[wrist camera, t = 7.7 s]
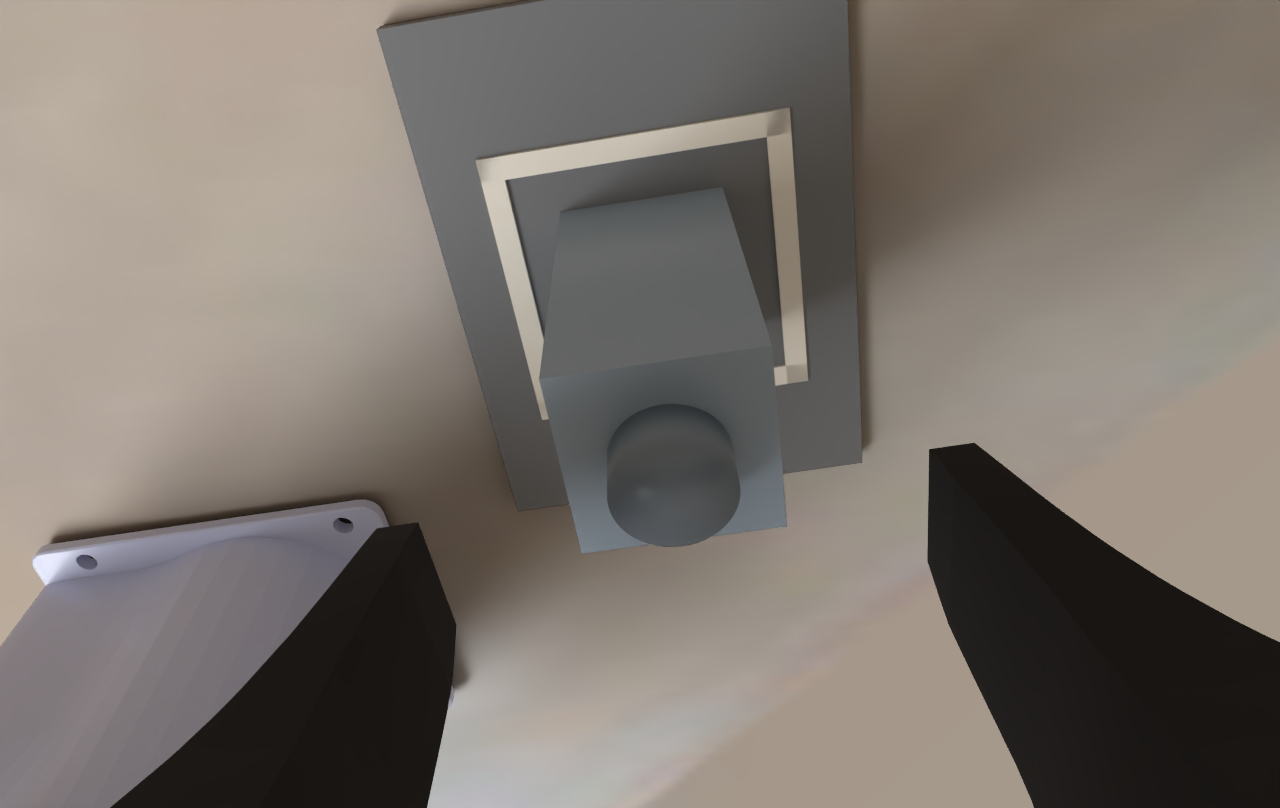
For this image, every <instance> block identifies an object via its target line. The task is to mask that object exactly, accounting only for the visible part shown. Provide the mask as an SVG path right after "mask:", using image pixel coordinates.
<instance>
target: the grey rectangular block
mask: <svg viewBox="0 0 1280 808" xmlns="http://www.w3.org/2000/svg"><path fill="white" fill-rule="evenodd" d="M539 382H540V386H541V390H542V394H543V398H544V402H545V406H546V410H547V414H548V418H549V422H550V426H551V431H552V435H553V439H554V443H555V447H556V451H557V455H558V459H559V463H560V467H561V471H562V475H563V480H564V484H565V488H566V492H567V496H568V500H569V504H570V508H571V512H572V516H573V520H574V525H575V529H576V533H577V537H578V541H579V545H580V549H581V553H582V554H583V553H591V552H598V551H606V550H613V549H621V548H628V547H636V546H643V545H656V546H663V547H679V546H686V545H691V544H694V543H698V542H701V541H703V540H705V539H707V538H709V537H711V536H718V535H726V534H733V533H741V532H748V531H756V530H763V529H771V528H778V527H786V526H787V520H786V508H785V496H784V484H783V472H782V460H781V448H780V436H779V424H778V411H777V399H776V387H775V375H774V363H773V351H772V344H771V341H770V337H769V334H768V331H767V328H766V325H765V321H764V318H763V315H762V312H761V309H760V305H759V302H758V299H757V296H756V293H755V289H754V286H753V283H752V280H751V277H750V273H749V270H748V267H747V264H746V261H745V257H744V254H743V251H742V248H741V245H740V242H739V238H738V235H737V232H736V229H735V226H734V222H733V219H732V216H731V213H730V210H729V206H728V203H727V200H726V197H725V194H724V190H723V187H719V188H713V189H706V190H700V191H693V192H687V193H680V194H674V195H668V196H661V197H655V198H648V199H642V200H635V201H629V202H622V203H616V204H609V205H603V206H597V207H590V208H584V209H577V210H571V211H564V212H560V218H559V225H558V233H557V241H556V249H555V257H554V265H553V273H552V280H551V288H550V296H549V304H548V312H547V320H546V328H545V335H544V343H543V351H542V359H541V367H540V375H539Z"/></svg>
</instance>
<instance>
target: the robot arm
mask: <svg viewBox="0 0 1280 808" xmlns="http://www.w3.org/2000/svg"><path fill="white" fill-rule="evenodd" d="M338 518H346V519H348V520H350V521H351V522H352V523H351V524H348V523H343V522H341V521H340V520H339V519H338ZM87 555H89V556H91V557H93V558H94V559H92V558H89V557H88V556H87ZM928 564H929V567H930V570H931V573H932V576H933V579H934V582H935V585H936V588H937V592H938V595H939V597H940V601H941V603H942V606H943V609H944V612H945V615H946V618H947V621H948V624H949V626H950V628H951V630H952V633H953V635H954V637H955V639H956V641H957V643H958V645H959V647H960V650H961V652H962V654H963V656H964V658H965V660H966V662H967V664H968V666H969V668H970V671H971V673H972V675H973V677H974V679H975V681H976V683H977V685H978V687H979V689H980V691H981V693H982V695H983V697H984V699H985V702H986V703H987V706H988V708H989V710H990V712H991V714H992V716H993V718H994V720H995V722H996V724H997V726H998V728H999V730H1000V732H1001V734H1002V737H1003V738H1004V741H1005V743H1006V745H1007V747H1008V748H1009V751H1010V753H1011V755H1012V757H1013V759H1014V761H1015V763H1016V765H1017V768H1018V770H1019V772H1020V775H1021V777H1022V779H1023V782H1024V784H1025V786H1026V788H1027V791H1028V793H1029V795H1030V798H1031V800H1032V803H1033V806H1034V808H1280V642H1278V641H1276V640H1274V639H1271V638H1269V637H1267V636H1265V635H1263V634H1261V633H1259V632H1257V631H1255V630H1253V629H1251V628H1249V627H1247V626H1245V625H1243V624H1241V623H1239V622H1237V621H1235V620H1233V619H1232V618H1230V617H1228V616H1226V615H1224V614H1222V613H1220V612H1219V611H1217V610H1215V609H1213V608H1211V607H1210V606H1208V605H1206V604H1204V603H1203V602H1200V601H1199V600H1197V599H1195V598H1194V597H1192V596H1190V595H1188V594H1186V593H1184V592H1182V591H1181V590H1179V589H1177V588H1176V587H1174V586H1173V585H1170V584H1169V583H1167V582H1166V581H1164V580H1162V579H1161V578H1159V577H1157V576H1156V575H1154V574H1153V573H1151V572H1150V571H1148V570H1147V569H1145V568H1143V567H1142V566H1140V565H1139V564H1137V563H1136V562H1134V561H1132V560H1131V559H1130V558H1128V557H1126V556H1125V555H1123V554H1122V553H1120V552H1119V551H1117V550H1116V549H1114V548H1113V547H1111V546H1110V545H1108V544H1107V543H1105V542H1104V541H1102V540H1101V539H1100V538H1098V537H1097V536H1095V535H1094V534H1092V533H1091V532H1090V531H1088V530H1087V529H1085V528H1084V527H1083V526H1081V525H1080V524H1079V523H1077V522H1076V521H1075V520H1073V519H1072V518H1070V517H1069V516H1068V515H1066V514H1065V513H1064V512H1062V511H1061V510H1060V509H1058V508H1057V507H1056V506H1054V505H1053V504H1052V503H1050V502H1049V501H1048V500H1046V499H1045V498H1044V497H1043V496H1041V495H1040V494H1039V493H1037V492H1036V491H1035V490H1034V489H1032V488H1031V487H1030V486H1028V485H1027V484H1026V483H1025V482H1023V481H1022V480H1021V479H1020V478H1018V477H1017V476H1016V475H1015V474H1013V473H1012V472H1011V471H1010V470H1008V469H1007V468H1006V467H1004V466H1003V465H1002V464H1001V463H999V462H998V461H997V460H996V459H994V458H993V457H992V456H991V455H989V454H988V453H987V452H985V451H984V450H983V449H982V448H980V447H979V446H978V445H976V444H975V443H970V444H963V445H956V446H949V447H942V448H935V449H929V502H928ZM32 565H33V567H34V569H35V571H36V572H37V573H38V575H39V576H40V578H41V579H42V581H43V582H44V584H45V585H46V586H45V587H44V588H43V590H42V591H41V592H40V594H39V595H38V597H37V598H36V599H35V601H34V602H33V603H32V605H31V606H30V607H29V609H28V610H27V611H26V613H25V614H24V615H23V617H22V618H21V619H20V621H19V622H18V623H17V625H16V626H15V628H14V629H13V630H12V632H11V633H10V634H9V636H8V637H7V638H6V640H5V641H4V642H3V644H2V645H1V646H0V808H427V804H428V800H429V795H430V790H431V786H432V781H433V776H434V772H435V767H436V762H437V758H438V753H439V748H440V744H441V739H442V734H443V729H444V724H445V719H446V715H447V710H448V707H450V706H451V704H452V702H453V697H454V689H453V686H452V677H453V666H454V652H455V636H456V623H455V620H454V617H453V615H452V612H451V609H450V607H449V604H448V601H447V599H446V596H445V593H444V591H443V588H442V585H441V583H440V580H439V577H438V574H437V572H436V569H435V566H434V564H433V561H432V558H431V556H430V553H429V550H428V548H427V545H426V542H425V539H424V537H423V534H422V531H421V529H420V526H419V523H411V524H404V525H397V526H390V527H389V525H388V522H387V520H386V517H385V514H384V512H383V510H382V509H381V507H380V506H379V505H377V504H376V503H374V502H372V501H369V500H353V501H346V502H339V503H332V504H325V505H318V506H311V507H304V508H297V509H290V510H283V511H276V512H269V513H263V514H256V515H249V516H242V517H235V518H228V519H221V520H214V521H207V522H200V523H193V524H186V525H179V526H172V527H166V528H159V529H152V530H145V531H138V532H131V533H124V534H117V535H110V536H103V537H96V538H89V539H82V540H75V541H69V542H62V543H55V544H48V545H45V546H42V547H41V548H40V549H39V550H38V552H37V553H36V554H35V556H34V557H33V559H32Z"/></svg>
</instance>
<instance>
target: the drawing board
mask: <svg viewBox="0 0 1280 808" xmlns="http://www.w3.org/2000/svg"><path fill="white" fill-rule="evenodd" d="M377 34H378V37H379V41H380V44H381V47H382V51H383V54H384V58H385V61H386V64H387V68H388V71H389V75H390V78H391V81H392V85H393V88H394V92H395V95H396V98H397V102H398V105H399V109H400V112H401V115H402V119H403V122H404V126H405V129H406V132H407V136H408V139H409V143H410V146H411V149H412V153H413V156H414V160H415V163H416V166H417V170H418V173H419V177H420V180H421V184H422V187H423V190H424V194H425V197H426V201H427V204H428V207H429V211H430V214H431V218H432V221H433V224H434V228H435V231H436V235H437V238H438V241H439V245H440V248H441V252H442V255H443V258H444V262H445V265H446V269H447V272H448V275H449V279H450V282H451V286H452V289H453V292H454V296H455V299H456V303H457V306H458V309H459V313H460V316H461V320H462V323H463V326H464V330H465V333H466V337H467V340H468V343H469V347H470V350H471V354H472V357H473V360H474V364H475V367H476V371H477V374H478V378H479V381H480V384H481V388H482V391H483V395H484V398H485V401H486V405H487V408H488V412H489V415H490V418H491V422H492V425H493V429H494V432H495V435H496V439H497V442H498V446H499V449H500V452H501V456H502V459H503V463H504V466H505V469H506V473H507V476H508V480H509V483H510V486H511V490H512V493H513V497H514V500H515V503H516V507H517V510H518V511H525V510H532V509H539V508H546V507H553V506H560V505H567V504H569V500H568V496H567V492H566V488H565V484H564V480H563V475H562V471H561V467H560V463H559V459H558V455H557V451H556V447H555V443H554V439H553V435H552V431H551V426H550V422H549V418H548V414H547V410H546V406H545V402H544V398H543V394H542V390H541V386H540V382H539V375H540V367H541V359H542V351H543V343H544V335H545V328H546V320H547V312H548V304H549V296H550V288H551V280H552V273H553V265H554V257H555V249H556V241H557V233H558V225H559V218H560V212H564V211H571V210H577V209H584V208H590V207H597V206H603V205H609V204H616V203H622V202H629V201H635V200H642V199H648V198H655V197H661V196H668V195H674V194H680V193H687V192H693V191H700V190H706V189H713V188H719V187H723V190H724V194H725V197H726V200H727V203H728V206H729V210H730V213H731V216H732V219H733V222H734V226H735V229H736V232H737V235H738V238H739V242H740V245H741V248H742V251H743V254H744V257H745V261H746V264H747V267H748V270H749V273H750V277H751V280H752V283H753V286H754V289H755V293H756V296H757V299H758V302H759V305H760V309H761V312H762V315H763V318H764V321H765V325H766V328H767V331H768V334H769V337H770V341H771V344H772V351H773V363H774V375H775V387H776V399H777V411H778V424H779V436H780V448H781V460H782V472H783V474H785V473H792V472H799V471H806V470H813V469H820V468H827V467H834V466H841V465H849V464H856V463H862V435H861V404H860V373H859V342H858V311H857V280H856V248H855V217H854V186H853V155H852V124H851V93H850V62H849V31H848V0H526V1H521V2H515V3H509V4H504V5H498V6H492V7H487V8H481V9H475V10H470V11H464V12H458V13H452V14H447V15H441V16H435V17H430V18H424V19H418V20H413V21H407V22H401V23H396V24H390V25H384V26H380V27H379V28H378V29H377Z"/></svg>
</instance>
